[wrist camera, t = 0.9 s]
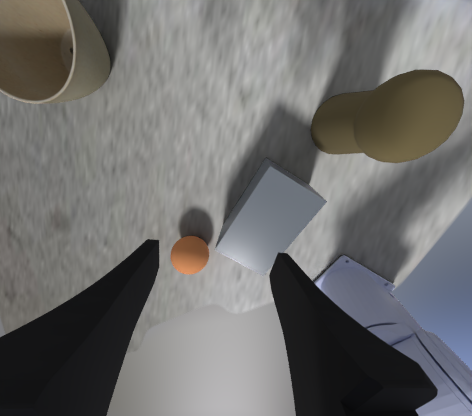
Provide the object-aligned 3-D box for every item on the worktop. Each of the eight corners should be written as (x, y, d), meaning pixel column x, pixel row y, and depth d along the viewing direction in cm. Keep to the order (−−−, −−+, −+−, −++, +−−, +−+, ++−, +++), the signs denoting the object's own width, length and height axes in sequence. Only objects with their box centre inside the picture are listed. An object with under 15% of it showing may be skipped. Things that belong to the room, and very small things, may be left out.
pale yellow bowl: (36, -18, 18) (-89, -104, 12) (136, 15, 18) (71, -50, 12) (46, 97, 22) (-44, 81, 15) (130, 123, 22) (77, 119, 16)
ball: (218, 240, 27) (211, 262, 22) (203, 263, 29) (193, 288, 24) (187, 223, 26) (173, 242, 22) (173, 248, 28) (158, 271, 24)
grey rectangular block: (309, 185, 23) (326, 201, 17) (261, 246, 27) (263, 276, 21) (265, 157, 22) (270, 165, 17) (222, 224, 26) (214, 249, 21)
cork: (299, 136, 21) (342, 139, 11) (336, 80, 19) (433, 20, 9) (342, 164, 22) (419, 192, 12) (383, 114, 20) (521, 94, 10)
